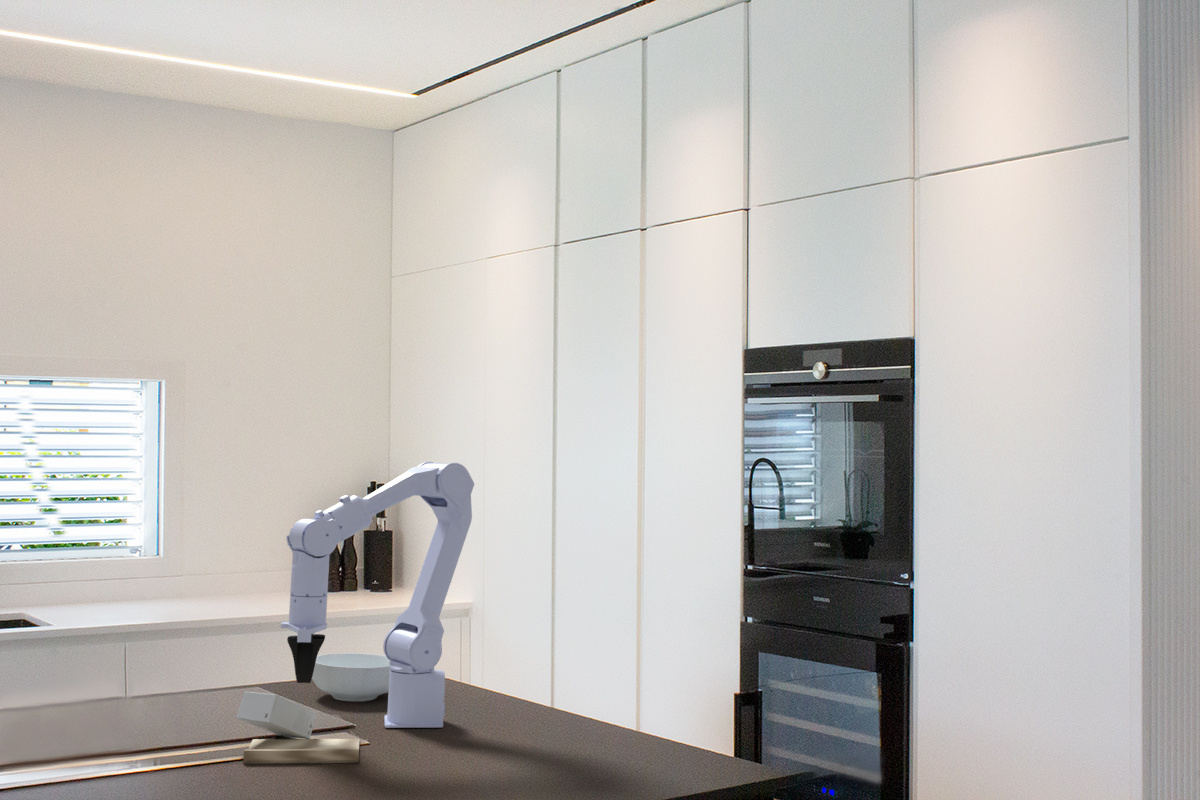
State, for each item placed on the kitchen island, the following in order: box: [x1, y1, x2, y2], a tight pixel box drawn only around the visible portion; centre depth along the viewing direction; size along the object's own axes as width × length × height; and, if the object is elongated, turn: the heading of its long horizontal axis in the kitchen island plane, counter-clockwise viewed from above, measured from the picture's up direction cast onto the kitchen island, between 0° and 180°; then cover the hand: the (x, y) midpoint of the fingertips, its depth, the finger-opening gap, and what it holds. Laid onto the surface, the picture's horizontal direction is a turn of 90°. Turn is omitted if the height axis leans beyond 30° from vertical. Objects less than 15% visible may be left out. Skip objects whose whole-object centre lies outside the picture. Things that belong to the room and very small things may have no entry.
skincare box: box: [235, 691, 317, 739], centre depth 176 cm, size 6×4×12 cm
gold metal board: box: [242, 738, 360, 765], centre depth 172 cm, size 16×13×2 cm
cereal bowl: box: [312, 652, 390, 702], centre depth 213 cm, size 17×17×7 cm
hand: (303, 682), depth 182 cm, fingers closed
